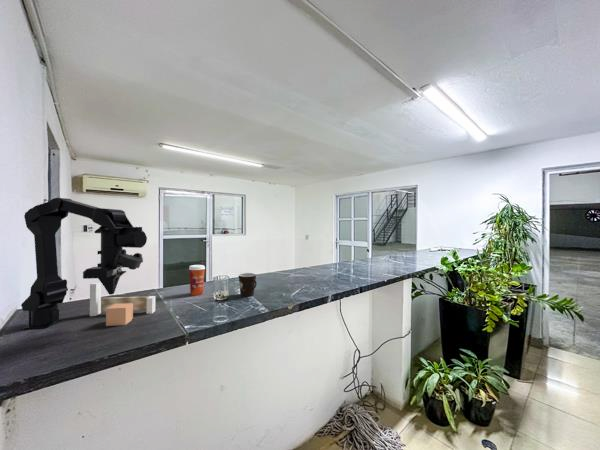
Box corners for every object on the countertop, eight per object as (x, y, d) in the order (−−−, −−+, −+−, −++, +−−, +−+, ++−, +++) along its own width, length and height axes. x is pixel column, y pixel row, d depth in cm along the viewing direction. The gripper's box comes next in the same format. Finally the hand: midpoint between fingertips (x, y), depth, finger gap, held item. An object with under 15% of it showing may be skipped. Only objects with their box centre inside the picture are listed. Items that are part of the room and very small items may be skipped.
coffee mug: (237, 292, 124) (238, 273, 124) (254, 291, 127) (255, 272, 127) (239, 299, 113) (239, 278, 113) (257, 298, 116) (258, 277, 116)
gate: (101, 311, 93) (101, 298, 93) (102, 310, 94) (103, 297, 94) (146, 309, 95) (146, 297, 95) (147, 308, 96) (147, 296, 96)
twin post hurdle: (89, 316, 91) (90, 284, 91) (94, 313, 94) (95, 282, 94) (152, 313, 95) (152, 282, 95) (155, 310, 98) (155, 281, 98)
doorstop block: (106, 326, 83) (106, 308, 83) (114, 320, 88) (114, 303, 88) (125, 325, 84) (125, 307, 84) (132, 319, 89) (132, 303, 89)
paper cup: (193, 297, 116) (193, 267, 116) (185, 294, 121) (185, 265, 121) (208, 293, 122) (208, 265, 122) (199, 290, 127) (200, 263, 127)
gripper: (124, 250, 73) (124, 302, 73) (150, 244, 91) (149, 286, 91) (81, 250, 71) (81, 304, 71) (116, 244, 89) (116, 287, 89)
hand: (111, 294), depth 80 cm, fingers closed
